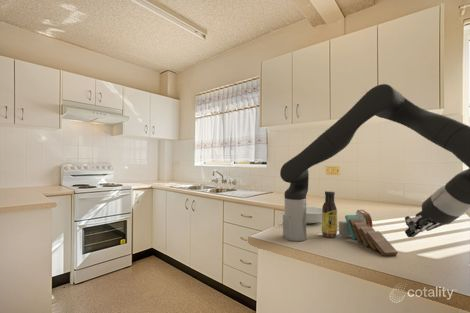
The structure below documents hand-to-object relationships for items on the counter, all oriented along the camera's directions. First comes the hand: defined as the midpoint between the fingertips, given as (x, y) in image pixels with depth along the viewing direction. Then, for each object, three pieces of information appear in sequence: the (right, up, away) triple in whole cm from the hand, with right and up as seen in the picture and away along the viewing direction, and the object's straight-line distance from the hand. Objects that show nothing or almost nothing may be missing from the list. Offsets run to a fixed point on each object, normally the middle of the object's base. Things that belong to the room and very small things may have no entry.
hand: (408, 234), depth 73 cm
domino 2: (-2, -10, +20) cm, 22 cm away
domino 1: (-3, -10, +24) cm, 26 cm away
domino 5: (-1, -9, +7) cm, 12 cm away
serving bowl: (-16, -11, +53) cm, 56 cm away
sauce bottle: (-13, -11, +29) cm, 33 cm away
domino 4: (-1, -9, +11) cm, 15 cm away
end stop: (-4, -10, +30) cm, 32 cm away
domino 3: (-2, -10, +16) cm, 18 cm away
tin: (+9, -11, +40) cm, 43 cm away
